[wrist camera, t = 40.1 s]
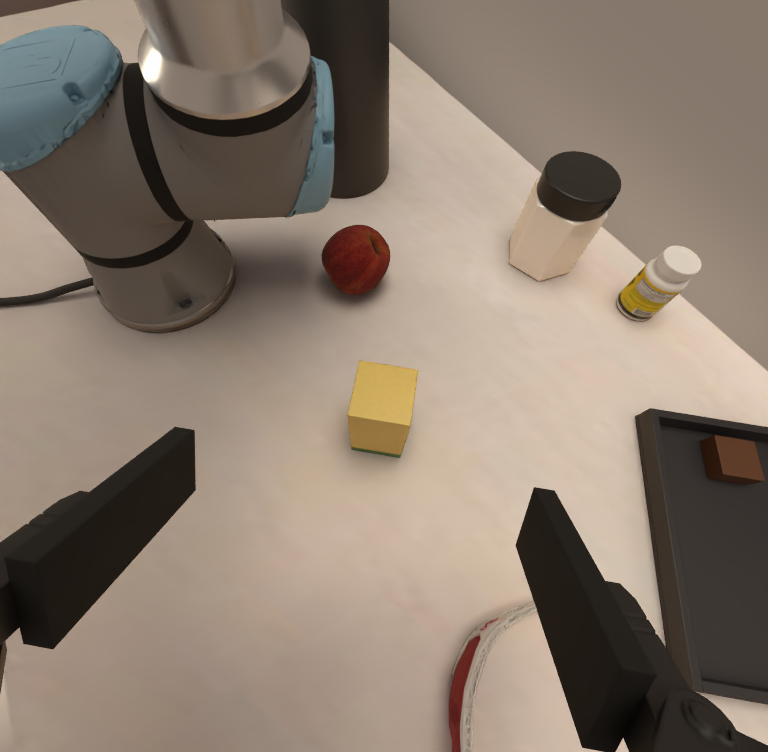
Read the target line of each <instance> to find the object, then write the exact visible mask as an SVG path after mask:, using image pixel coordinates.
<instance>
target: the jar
mask: <svg viewBox="0 0 768 752" xmlns="http://www.w3.org/2000/svg"><path fill="white" fill-rule="evenodd" d="M620 189H621V179H620V177H619V175H618V173H617V171H616V170H615V169H614V168H613V167H612V166H611V165H610V164H609V163H607V162H606V161H604V160H603V159H601V158H599V157H597V156H594V155H592V154H588V153H584V152H576V151H573V152H572V151H571V152H563V153H560V154H557V155H555V156H554V157H552V158H551V159H550V160H549V161H548V162H547V164H546V166H545V168H544V170H543V172H542V175H541V177H540V178H537V179H536V181H535V183H534V186H533V188H532V190H531V192H530V195H529V197H528V199H527V201H526V204H525V206H524V208H523V210H522V213H521V215H520V217H519V219H518V222H517V224H516V226H515V228H514V231H513V233H512V235H511V237H510V257H509V263H510V264H511V265H513V266H514V267H516V268H518V269H519V270H521V271H523V272H524V273H526V274H528V275H529V276H531V277H533V278H534V279H536V280H538V281H542V280H545V279H549V278H552V277H556V276H559V275H562V274H566V273H569V272H570V270H571V269H572V267H573V266H574V264H575V263H576V261H577V260H578V259H579V257H580V256H581V254H582V253H583V251H584V250H585V249H586V247H587V246H588V244H589V243H590V241H591V240H592V238H593V237H594V236H595V234H596V233H597V231H598V230H599V228H600V227H601V226H602V224H603V222H604V221H605V220H606V218H607V217H608V213H607V210H608V209H609V208H610V207H611V205H612V204H613V202H614V201H615V199H616V196H617V195H618V193H619V192H620Z"/></svg>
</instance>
